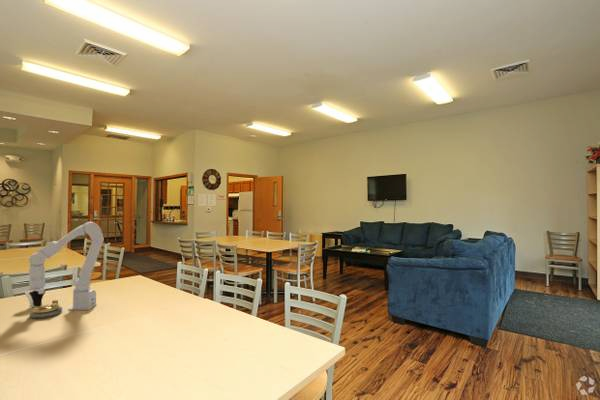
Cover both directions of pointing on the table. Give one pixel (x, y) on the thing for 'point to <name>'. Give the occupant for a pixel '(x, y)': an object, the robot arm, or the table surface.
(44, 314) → the cap base
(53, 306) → the brass lugged disc
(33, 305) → the lightbulb
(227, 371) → the table surface
